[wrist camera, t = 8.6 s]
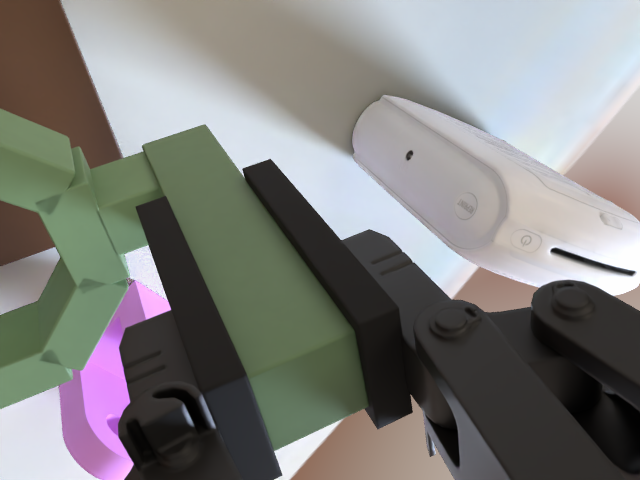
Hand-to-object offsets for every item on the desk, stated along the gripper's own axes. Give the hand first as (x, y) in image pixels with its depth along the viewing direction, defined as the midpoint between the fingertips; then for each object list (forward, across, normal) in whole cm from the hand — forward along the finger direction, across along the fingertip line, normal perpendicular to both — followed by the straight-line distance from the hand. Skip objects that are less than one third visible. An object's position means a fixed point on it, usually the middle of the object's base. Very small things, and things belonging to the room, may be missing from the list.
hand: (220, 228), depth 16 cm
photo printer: (+13, -13, +8) cm, 20 cm away
